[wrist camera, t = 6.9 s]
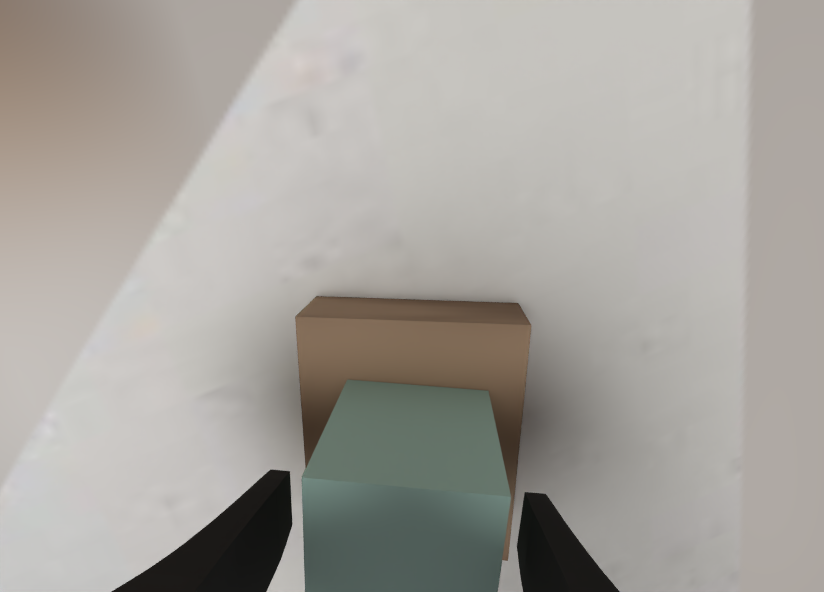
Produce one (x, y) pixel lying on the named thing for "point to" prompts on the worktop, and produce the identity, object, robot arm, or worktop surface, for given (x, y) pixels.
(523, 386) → the walnut block
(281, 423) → the worktop surface
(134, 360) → the worktop surface
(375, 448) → the sage cube
